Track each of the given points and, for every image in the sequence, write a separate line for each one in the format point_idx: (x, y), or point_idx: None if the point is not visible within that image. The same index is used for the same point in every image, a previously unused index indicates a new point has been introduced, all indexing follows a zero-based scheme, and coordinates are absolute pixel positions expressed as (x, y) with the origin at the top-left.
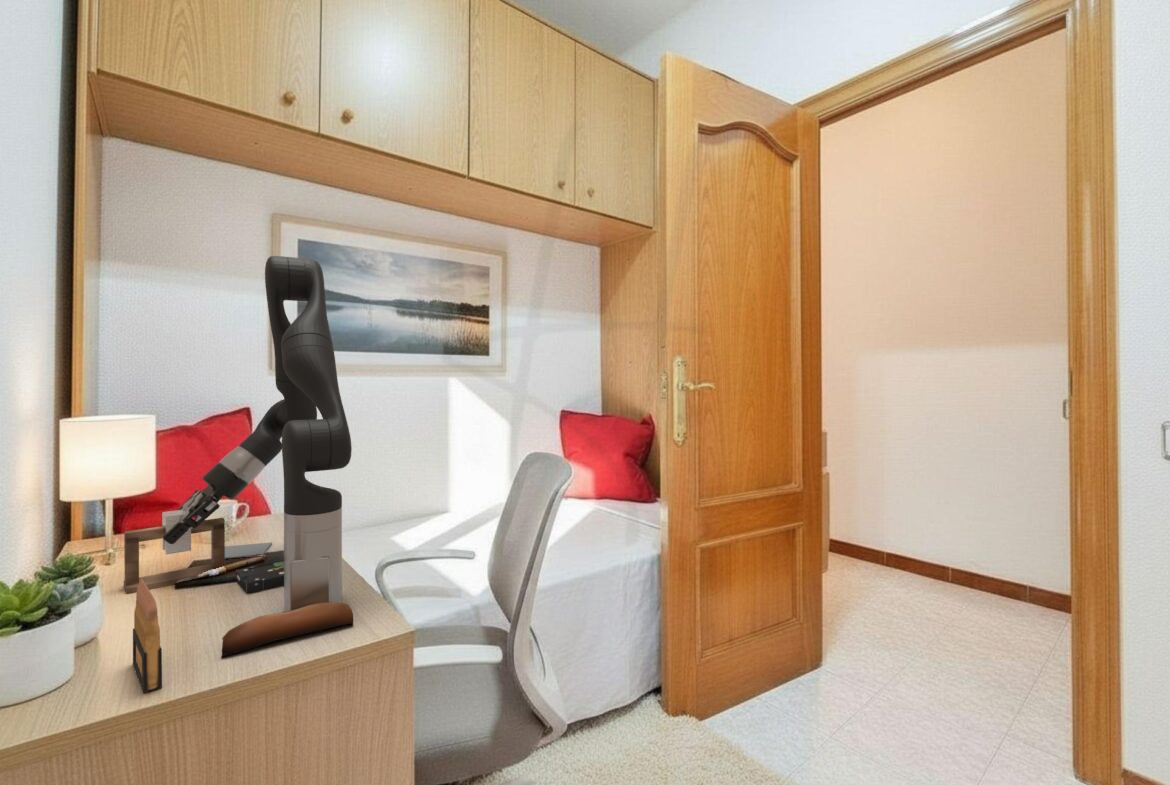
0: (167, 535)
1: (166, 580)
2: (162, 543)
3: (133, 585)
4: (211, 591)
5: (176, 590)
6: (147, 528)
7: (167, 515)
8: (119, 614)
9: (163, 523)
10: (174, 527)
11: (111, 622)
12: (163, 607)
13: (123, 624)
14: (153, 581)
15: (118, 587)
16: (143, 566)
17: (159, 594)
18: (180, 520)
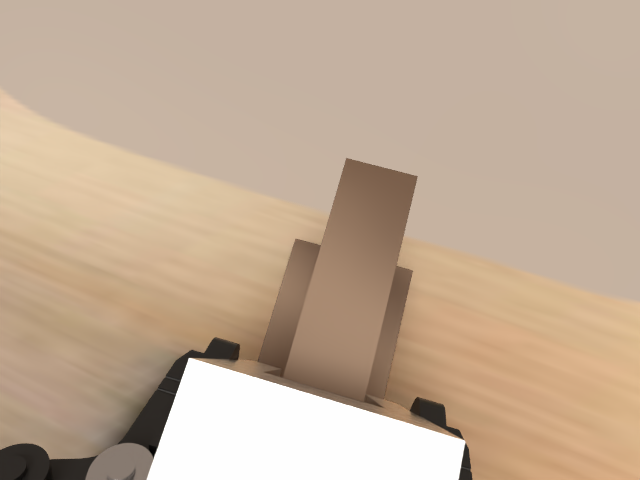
0: (202, 357)
1: (260, 358)
2: (396, 404)
3: (313, 266)
4: (30, 421)
5: (172, 354)
6: (380, 296)
7: (240, 395)
8: (115, 163)
9: (364, 403)
10: (172, 405)
11: (70, 130)
12: (42, 253)
13: (21, 141)
14: (295, 325)
15: (403, 257)
16: (636, 424)
17: (186, 301)
18: (119, 455)
